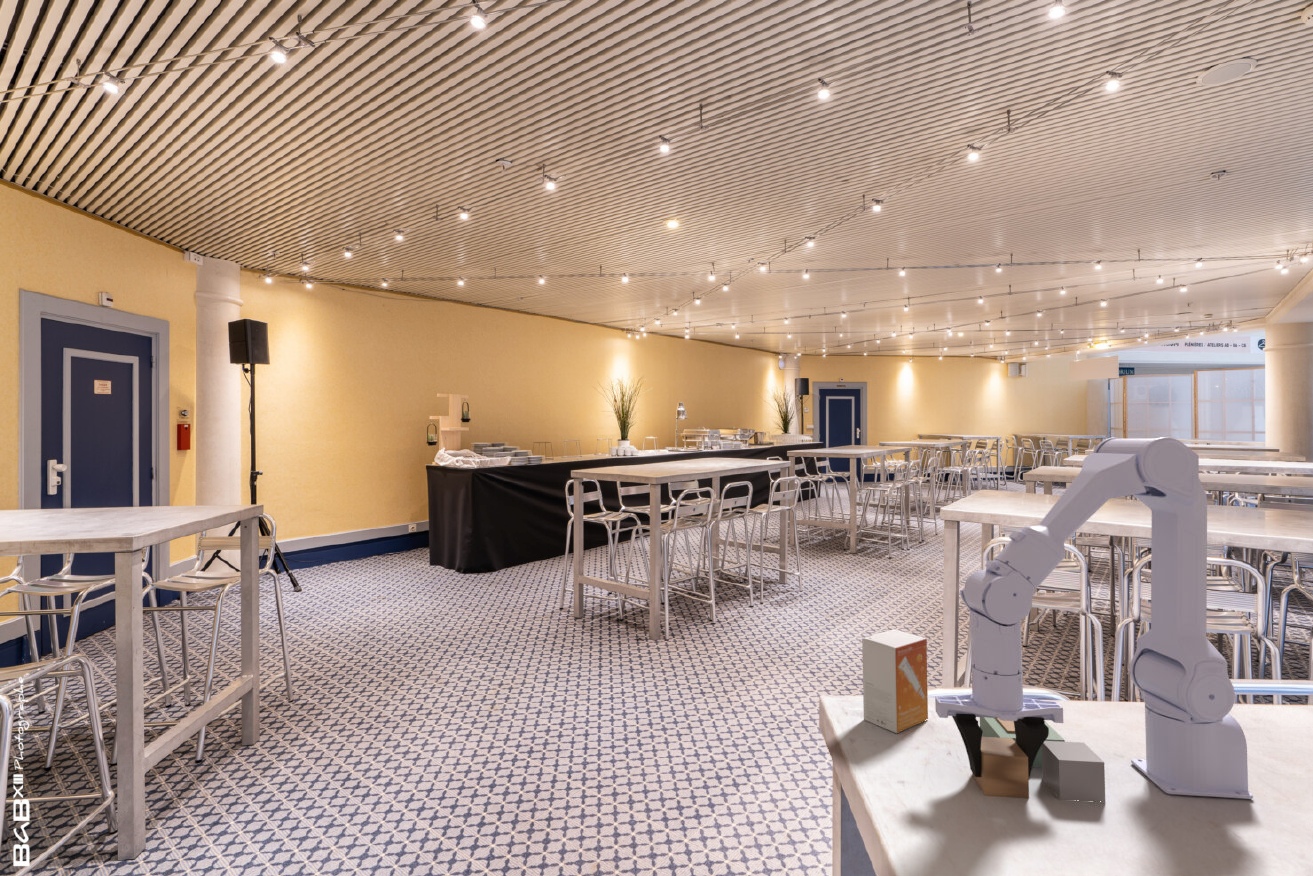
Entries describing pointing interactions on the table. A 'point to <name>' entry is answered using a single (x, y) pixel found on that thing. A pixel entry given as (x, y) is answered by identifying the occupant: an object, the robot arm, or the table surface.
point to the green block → (1012, 733)
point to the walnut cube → (1003, 768)
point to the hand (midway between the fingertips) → (999, 774)
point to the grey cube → (1073, 771)
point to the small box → (895, 680)
